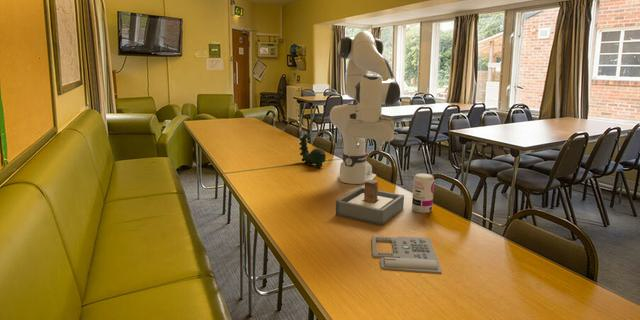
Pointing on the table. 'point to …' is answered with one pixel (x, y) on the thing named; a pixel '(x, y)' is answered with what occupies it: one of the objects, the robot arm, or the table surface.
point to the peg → (371, 191)
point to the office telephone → (408, 254)
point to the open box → (370, 207)
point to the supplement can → (423, 193)
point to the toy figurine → (311, 153)
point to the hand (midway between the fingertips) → (368, 149)
